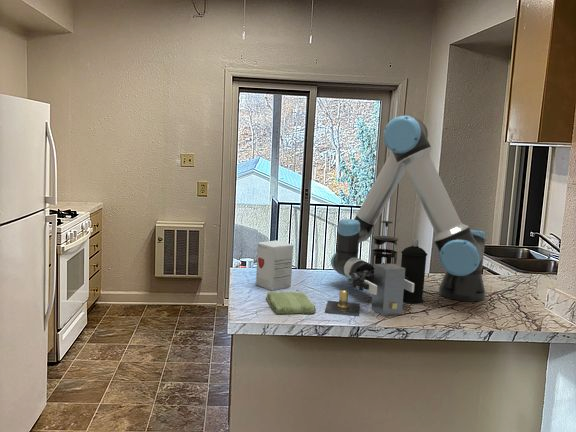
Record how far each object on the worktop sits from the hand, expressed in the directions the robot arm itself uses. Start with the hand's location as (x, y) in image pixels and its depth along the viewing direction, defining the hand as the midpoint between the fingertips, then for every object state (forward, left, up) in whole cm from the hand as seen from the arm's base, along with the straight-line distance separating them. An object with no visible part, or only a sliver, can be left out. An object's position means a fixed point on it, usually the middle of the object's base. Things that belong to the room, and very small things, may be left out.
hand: (394, 289), depth 159 cm
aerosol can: (-6, -18, -8) cm, 21 cm away
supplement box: (+40, -20, -8) cm, 45 cm away
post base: (+15, -1, -8) cm, 17 cm away
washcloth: (+31, 0, -9) cm, 32 cm away
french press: (+3, -37, -8) cm, 38 cm away
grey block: (+2, -3, -8) cm, 9 cm away
